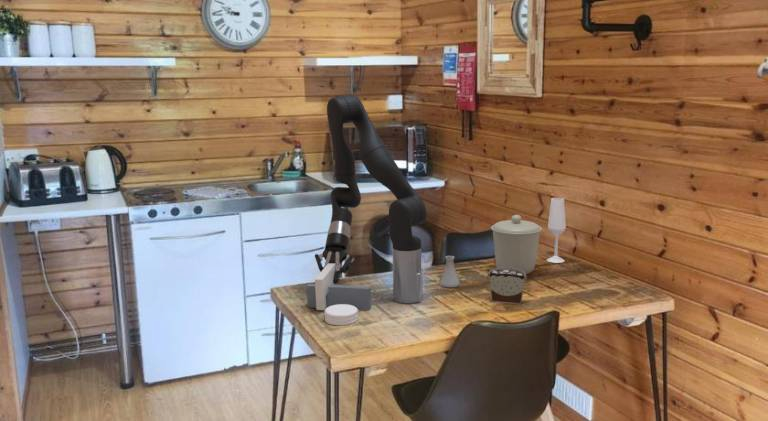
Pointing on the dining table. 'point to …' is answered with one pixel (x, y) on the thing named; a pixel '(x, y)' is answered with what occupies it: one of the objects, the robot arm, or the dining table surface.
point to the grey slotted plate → (342, 296)
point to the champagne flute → (556, 224)
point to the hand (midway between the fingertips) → (329, 282)
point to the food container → (506, 285)
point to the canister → (516, 243)
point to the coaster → (341, 314)
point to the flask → (449, 274)
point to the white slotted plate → (324, 285)
